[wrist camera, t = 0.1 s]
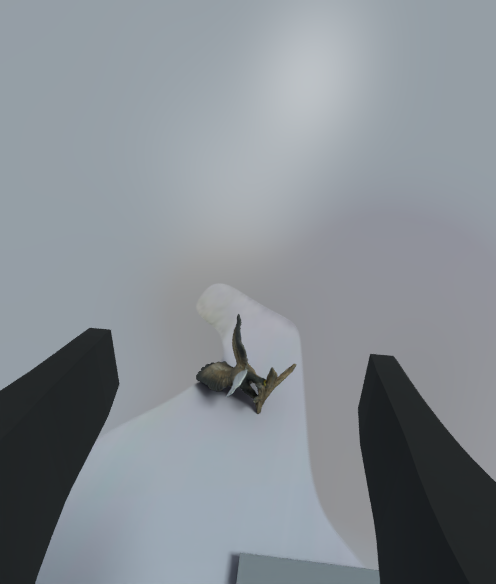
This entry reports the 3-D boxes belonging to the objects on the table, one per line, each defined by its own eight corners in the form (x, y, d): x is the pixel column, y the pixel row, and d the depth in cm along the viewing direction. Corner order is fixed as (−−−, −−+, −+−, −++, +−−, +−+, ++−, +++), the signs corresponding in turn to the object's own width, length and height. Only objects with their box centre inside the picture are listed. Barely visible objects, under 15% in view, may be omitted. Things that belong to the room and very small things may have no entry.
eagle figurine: (305, 381, 45) (247, 327, 50) (290, 351, 39) (227, 293, 44) (248, 437, 43) (195, 376, 48) (224, 414, 38) (166, 348, 43)
